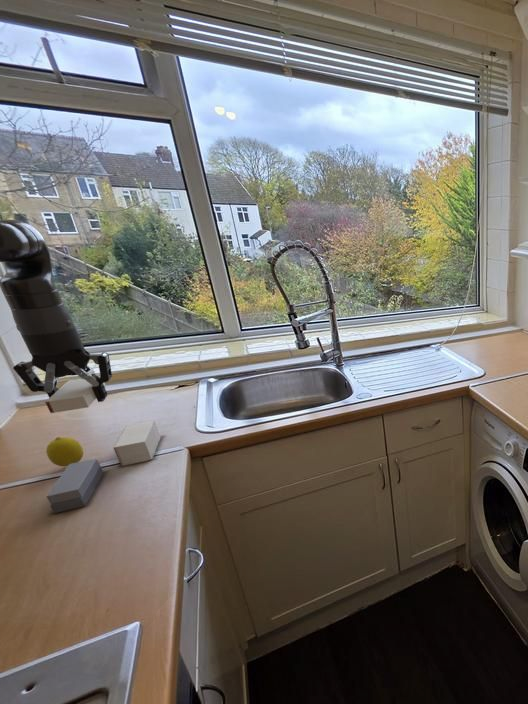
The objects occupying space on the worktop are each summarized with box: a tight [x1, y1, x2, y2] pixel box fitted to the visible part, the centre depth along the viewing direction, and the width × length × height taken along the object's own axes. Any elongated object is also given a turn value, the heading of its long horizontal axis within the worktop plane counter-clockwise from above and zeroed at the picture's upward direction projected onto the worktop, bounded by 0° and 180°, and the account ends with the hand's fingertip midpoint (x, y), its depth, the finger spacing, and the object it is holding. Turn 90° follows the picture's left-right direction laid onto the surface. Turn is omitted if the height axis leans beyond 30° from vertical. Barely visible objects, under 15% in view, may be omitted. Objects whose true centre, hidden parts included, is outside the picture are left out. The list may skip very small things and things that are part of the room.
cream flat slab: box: [44, 375, 107, 414], centre depth 86 cm, size 6×12×3 cm, turn 29°
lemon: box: [46, 436, 84, 467], centre depth 94 cm, size 6×6×8 cm
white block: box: [113, 419, 162, 467], centre depth 101 cm, size 6×12×5 cm, turn 30°
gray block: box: [46, 458, 104, 514], centre depth 87 cm, size 5×13×4 cm, turn 30°
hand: (82, 403), depth 87 cm, fingers closed on cream flat slab, 5 cm apart
